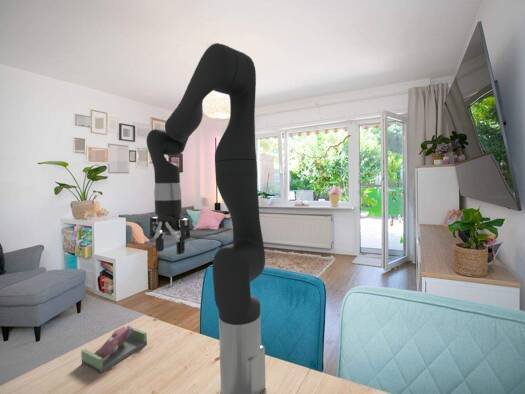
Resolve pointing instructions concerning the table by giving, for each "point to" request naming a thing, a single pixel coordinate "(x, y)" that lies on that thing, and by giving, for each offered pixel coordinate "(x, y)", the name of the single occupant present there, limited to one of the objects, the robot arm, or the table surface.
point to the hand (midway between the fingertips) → (170, 252)
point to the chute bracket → (129, 347)
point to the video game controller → (114, 342)
